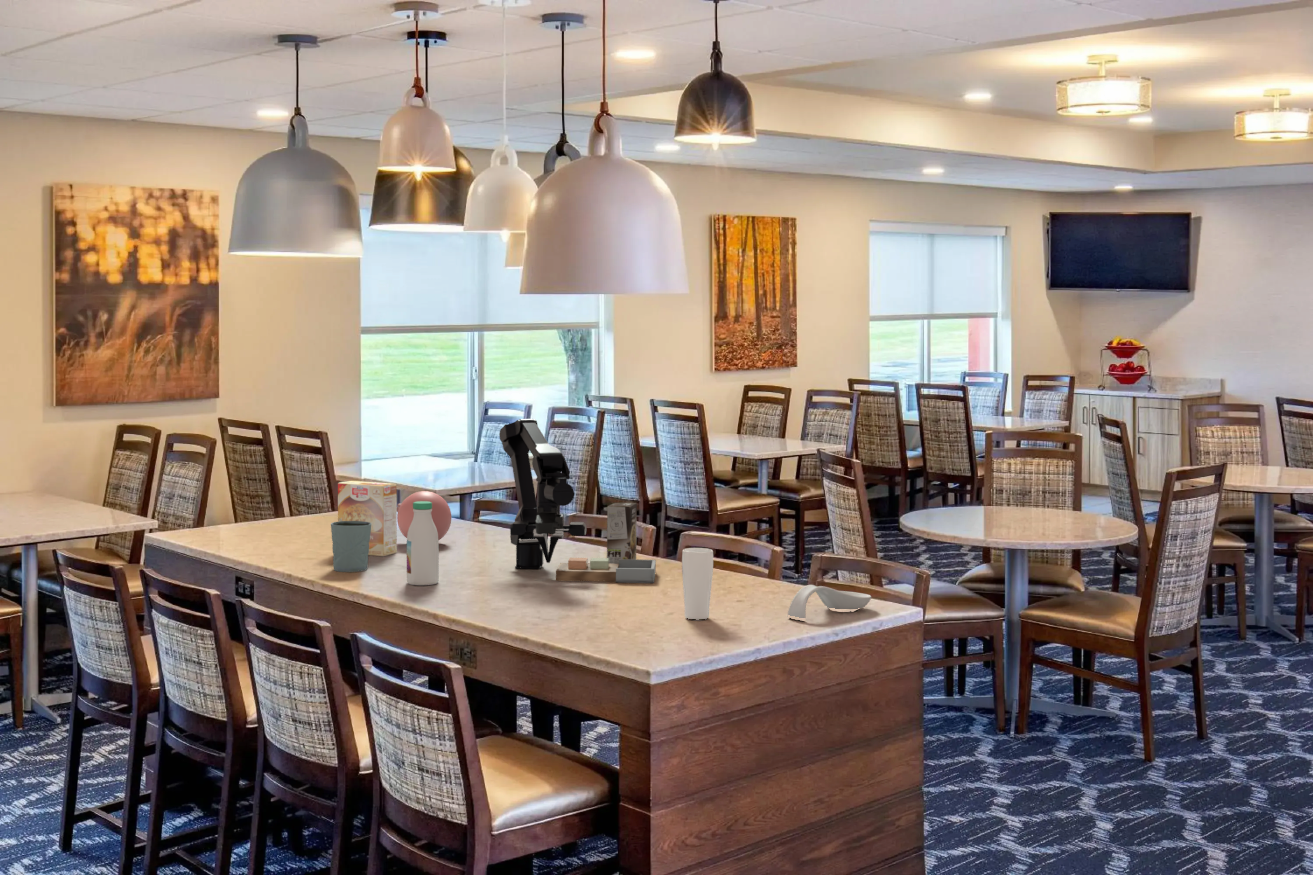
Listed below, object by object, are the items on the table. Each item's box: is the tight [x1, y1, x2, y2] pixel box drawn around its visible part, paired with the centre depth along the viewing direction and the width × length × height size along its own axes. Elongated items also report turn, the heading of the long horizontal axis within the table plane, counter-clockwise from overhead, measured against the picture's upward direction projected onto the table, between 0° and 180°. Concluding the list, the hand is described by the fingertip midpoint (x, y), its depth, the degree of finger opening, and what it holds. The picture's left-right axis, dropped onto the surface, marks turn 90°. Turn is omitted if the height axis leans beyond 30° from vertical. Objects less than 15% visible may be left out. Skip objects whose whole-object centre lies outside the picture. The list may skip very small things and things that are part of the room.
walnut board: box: [555, 562, 619, 583], centre depth 352 cm, size 15×12×2 cm
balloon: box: [397, 490, 452, 542], centre depth 403 cm, size 15×20×15 cm
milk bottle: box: [406, 501, 440, 586], centre depth 340 cm, size 8×8×20 cm
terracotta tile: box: [567, 557, 589, 569], centre depth 352 cm, size 4×4×2 cm
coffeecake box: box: [337, 480, 398, 557], centre depth 385 cm, size 15×7×20 cm, turn 68°
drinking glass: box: [681, 547, 714, 621], centre depth 303 cm, size 7×7×15 cm
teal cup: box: [330, 521, 371, 573], centre depth 359 cm, size 10×10×12 cm
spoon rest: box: [787, 584, 872, 618], centre depth 310 cm, size 24×12×7 cm, turn 137°
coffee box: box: [606, 502, 638, 564], centre depth 371 cm, size 9×6×16 cm
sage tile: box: [589, 557, 609, 569], centre depth 352 cm, size 4×4×2 cm
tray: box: [615, 558, 657, 584], centre depth 352 cm, size 9×14×4 cm
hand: (548, 562), depth 352 cm, fingers closed
